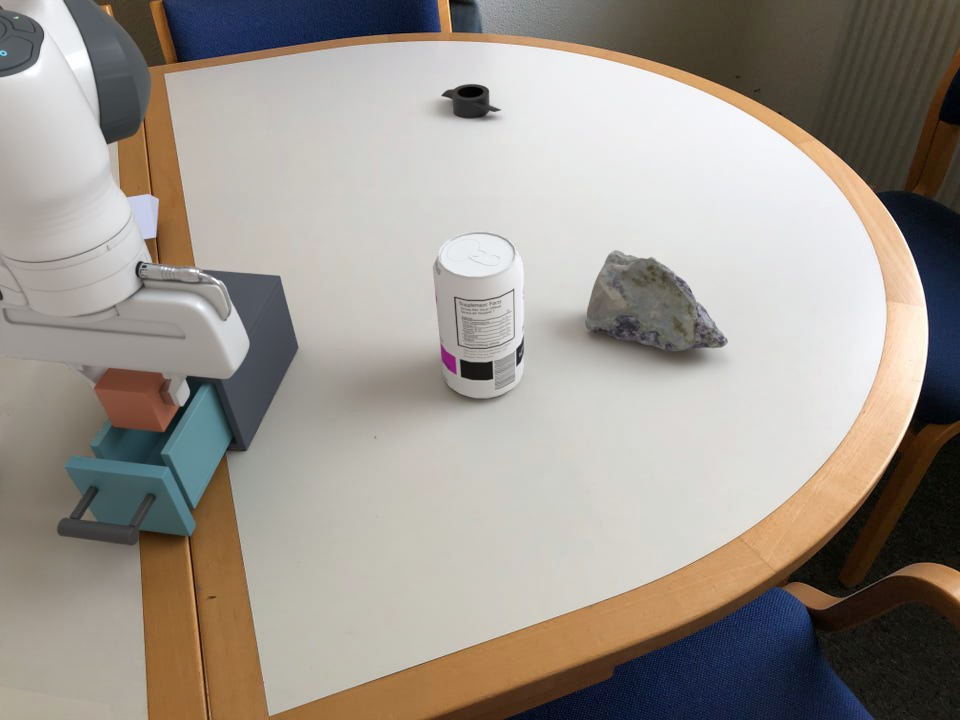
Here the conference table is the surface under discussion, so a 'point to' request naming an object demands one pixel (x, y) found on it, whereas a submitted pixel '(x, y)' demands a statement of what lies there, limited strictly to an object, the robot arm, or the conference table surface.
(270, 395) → the grey drawer cabinet
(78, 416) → the conference table surface
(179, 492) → the drawer
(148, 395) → the block
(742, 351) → the conference table surface
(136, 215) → the lavender piece
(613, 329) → the mineral rock
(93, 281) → the robot arm
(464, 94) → the black finned ring
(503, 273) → the supplement can
